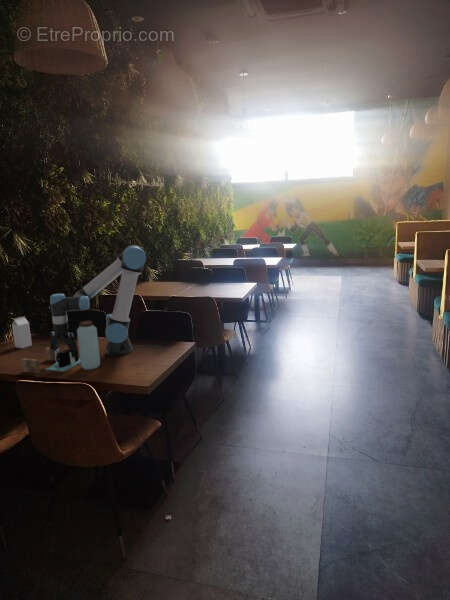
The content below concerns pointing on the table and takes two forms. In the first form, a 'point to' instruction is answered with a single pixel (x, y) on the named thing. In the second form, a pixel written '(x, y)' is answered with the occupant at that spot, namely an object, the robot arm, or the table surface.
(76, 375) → the table surface
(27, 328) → the milk carton
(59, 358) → the camera
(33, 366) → the slot block
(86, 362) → the water bottle
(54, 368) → the mat
